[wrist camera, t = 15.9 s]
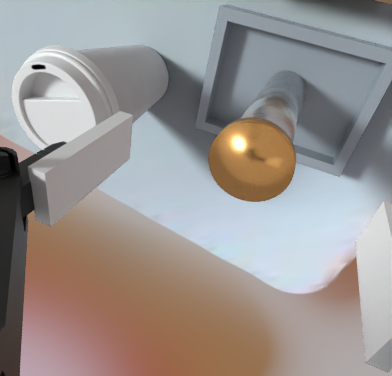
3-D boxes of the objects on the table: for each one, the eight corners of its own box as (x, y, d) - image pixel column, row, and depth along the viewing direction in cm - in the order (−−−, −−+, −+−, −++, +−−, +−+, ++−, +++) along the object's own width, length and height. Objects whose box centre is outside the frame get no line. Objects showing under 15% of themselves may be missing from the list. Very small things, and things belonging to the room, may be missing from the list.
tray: (226, 4, 31) (219, 5, 29) (400, 49, 28) (405, 54, 26) (201, 120, 38) (194, 127, 36) (338, 166, 35) (339, 176, 33)
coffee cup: (191, 48, 34) (113, 80, 22) (170, 127, 40) (99, 187, 27) (112, 16, 35) (-2, 29, 23) (103, 97, 41) (6, 141, 29)
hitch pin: (269, 58, 31) (219, 111, 18) (320, 73, 30) (308, 140, 17) (254, 107, 34) (201, 184, 20) (300, 121, 33) (276, 213, 20)
